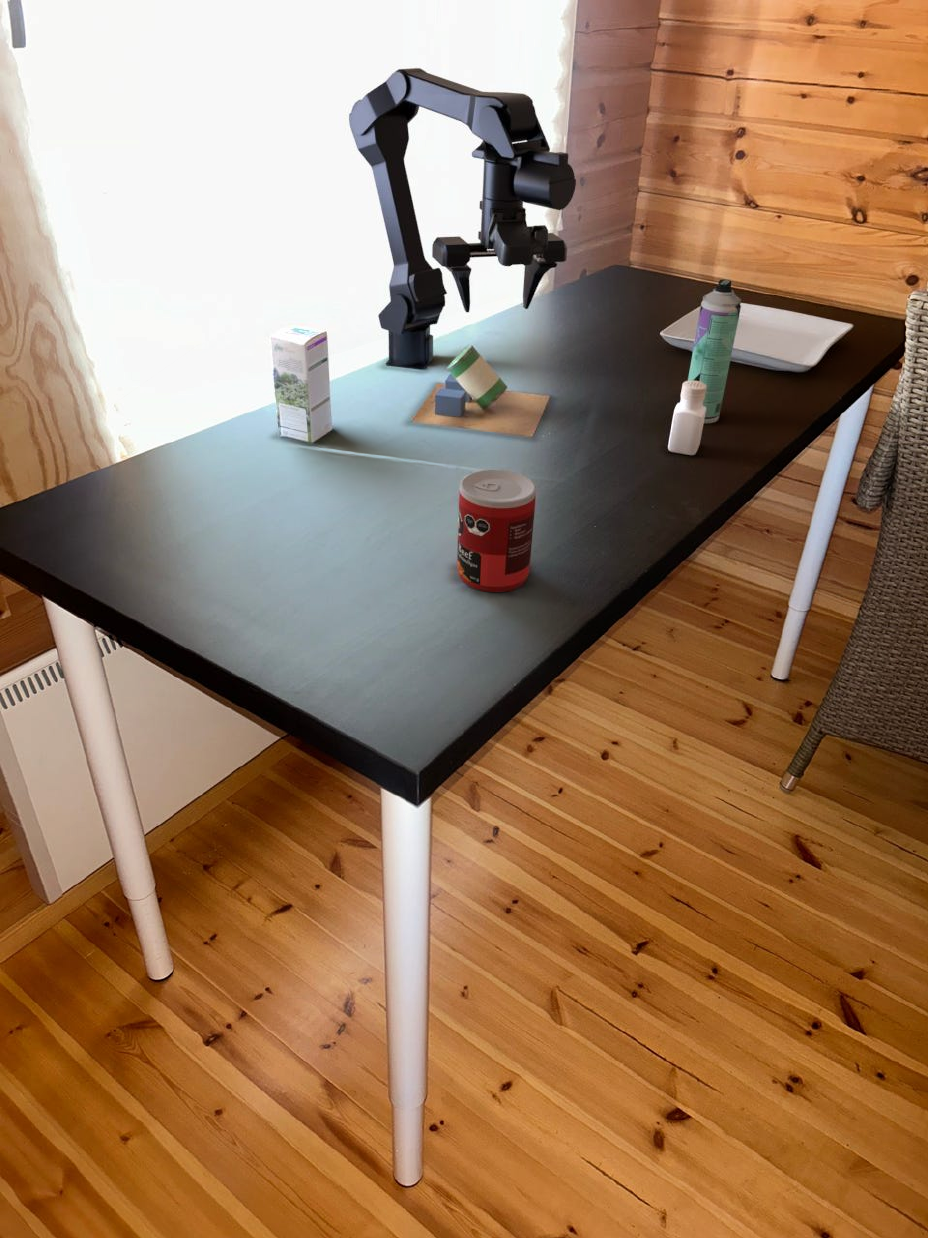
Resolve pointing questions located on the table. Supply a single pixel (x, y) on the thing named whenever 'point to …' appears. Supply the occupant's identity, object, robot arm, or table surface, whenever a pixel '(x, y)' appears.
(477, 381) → the green tin
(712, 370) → the spray can
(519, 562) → the canned food
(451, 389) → the blue blocks
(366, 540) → the table surface
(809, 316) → the square plate
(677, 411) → the pepper shaker
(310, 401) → the syrup box
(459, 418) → the cork mat
